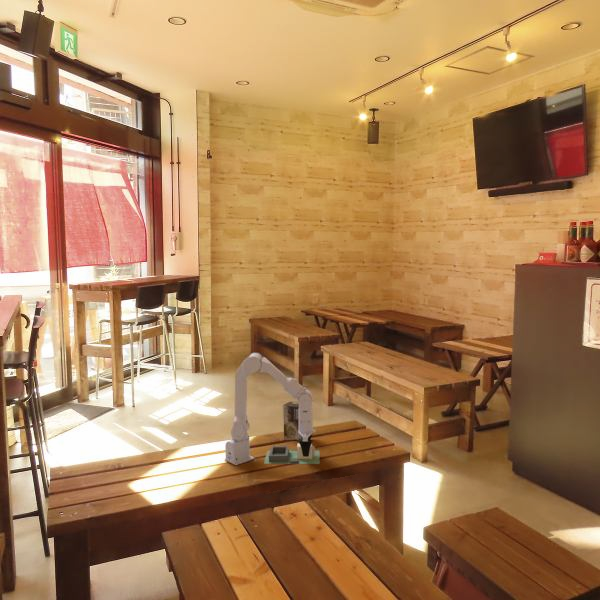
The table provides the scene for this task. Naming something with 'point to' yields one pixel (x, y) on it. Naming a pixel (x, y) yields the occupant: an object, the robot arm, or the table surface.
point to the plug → (311, 452)
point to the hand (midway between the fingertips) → (306, 452)
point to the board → (288, 456)
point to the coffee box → (291, 421)
